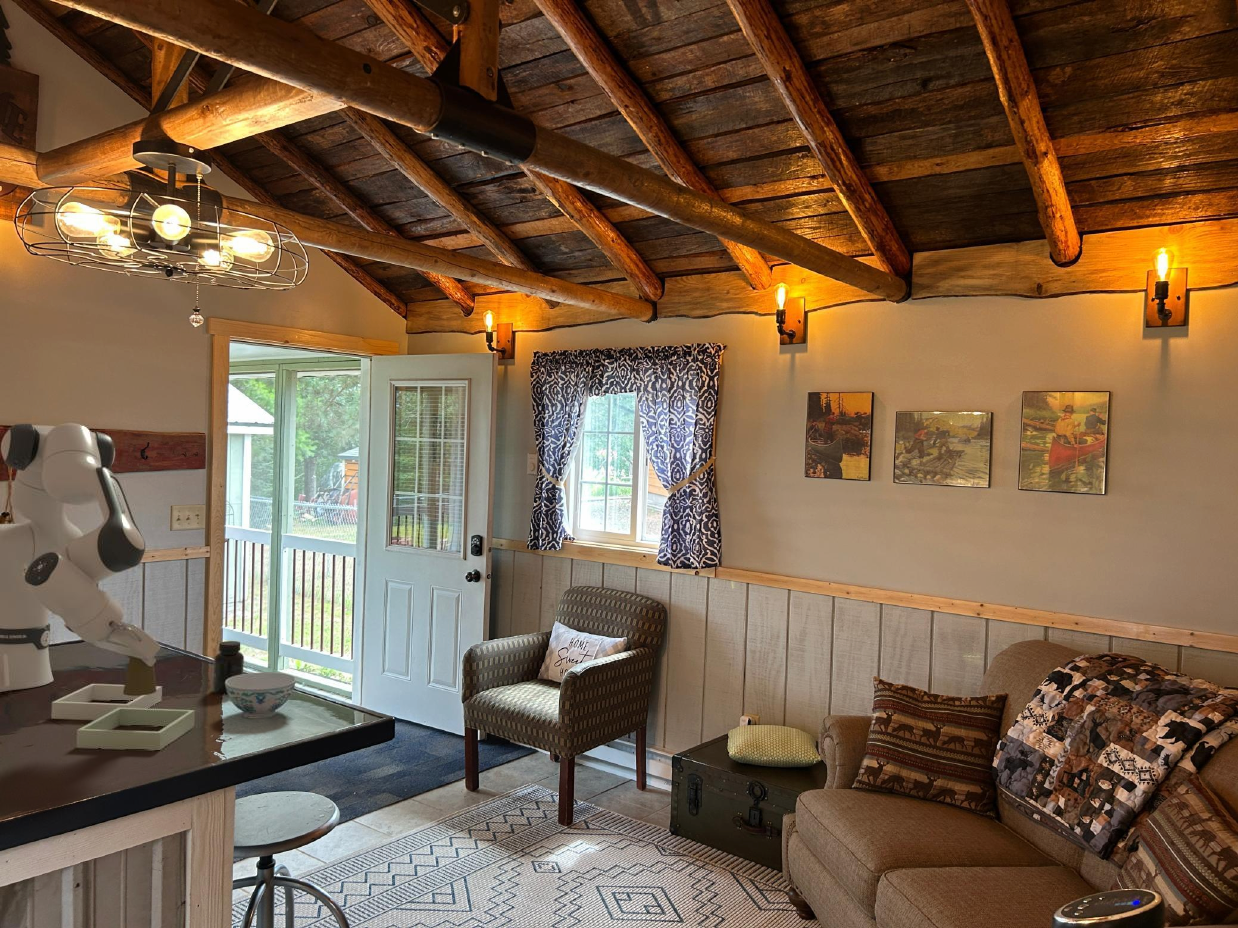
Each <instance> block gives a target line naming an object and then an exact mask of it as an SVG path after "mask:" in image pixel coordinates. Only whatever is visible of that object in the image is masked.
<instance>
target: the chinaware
mask: <svg viewBox="0 0 1238 928" xmlns="http://www.w3.org/2000/svg"><path fill="white" fill-rule="evenodd" d="M296 683H297V677H295V676H293V675H291V674H288V673H283V672H267V671H266V672H250V673H243V674H242V675H237V676H234V677H231V678H229V679H227V680H226V681H225V686H226V691H227V694H226V695H227V696H228V698H229V700H230V702H231V703H232V704H233V706H234V707H235V708H237V709H238V710H240V711H241V712H243V715H242V716H244V717H246V718H250V719H263V718H269V717H272V716H274V715H275V714H276V711H277V710H278V709H280V708H281V707H282V706H283V705H284V704H285V703H286V702H287V701H288V700H289V699H290V697H291V696H292V693H293V691H294V689H295V687H296V686H295V685H296Z"/></svg>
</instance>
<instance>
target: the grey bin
mask: <svg viewBox="0 0 1238 928" xmlns="http://www.w3.org/2000/svg"><path fill="white" fill-rule="evenodd" d="M124 686H125V684H108V683H91V684H89V685H86V686H84V687H82V688H80V689H77V690H76V691H73V692H72V693H70V694H67V695H64V696H63V697H61V698H58V699H55V700H54V701H52V702H51V719H53V720H54V719H55V720H77V721H78V720H80V721H81V720H83V721H95V720H97V719H98V718H100V717H102V716H104V715H106V714H108V713H109V712H111V711H113V710H115V709H117V708H145V709H148V708H149V709H151V708H152V707H151V706H153V705H154V706H156V705H157V704H156V703H158V702H160V701H161V702H162V696H163V695H162V694H163V685H161V686H159V685H158V686H157V685H156V692H155V693H152V694H149V695H141V696H129V695H125V694H123V691H124ZM110 700H129V701H128V702H127V703H112V702H111V703H107V702H92V701H110ZM130 700H133V701H130ZM161 702H160V703H161ZM155 704H156V705H155ZM158 704H159V703H158ZM154 706H153V707H154ZM150 707H151V708H150Z"/></svg>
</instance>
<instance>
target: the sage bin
mask: <svg viewBox="0 0 1238 928" xmlns="http://www.w3.org/2000/svg"><path fill="white" fill-rule="evenodd" d="M195 715H196V711H195V710H194V709H193V710H192V709H172V708H171V709H169V708H168V709H167V708H149V709H145V708H117V709H115V710H113V711H111V712H109V713H108V714H106V715H104V716H102V717H100V718H98V719H97V720H92V721H91V722H90V723H88V724H86V725H83V726H82V727H80V728H77V730H76V746H75V747H76V748H75V749H96V750H97V749H98V748H101V750H125V749H149V750H148V751H154V750H160V751H162V750H163V749H164V748H166V747H168V744H169V745H170V744H171V743H173V742H175V741H176V740H177V739H178V738H180V737H181V736H183V735H185V733H187V732H188V731H190V730H191V729H193V728H194V727H195ZM131 725H153V726H152V727H158V726H163V728H162V729H160V730H159V731H155V730H154V731H151V730H125V729H116V728H117V727H119V726H131ZM164 726H165V727H164ZM115 727H116V728H115ZM113 728H114V729H113ZM165 746H166V747H165ZM98 750H99V749H98Z"/></svg>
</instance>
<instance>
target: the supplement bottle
mask: <svg viewBox="0 0 1238 928" xmlns="http://www.w3.org/2000/svg"><path fill="white" fill-rule="evenodd" d="M218 646H219V647H218V651H219V652H218V653H216V654H215V656H214V658H213V671H212V673H213V674H212V691H213V693H215V694H216V695H228V694H227V691H226V686H225V681H226V680H227V679H229V678H231V677H234V676H237V675H242V674H244V665H245V657H244V654H243V653H241V652H240V651H241V642H240V641H237V640H228V641H227V640H225V641H221V642H219V645H218Z"/></svg>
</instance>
